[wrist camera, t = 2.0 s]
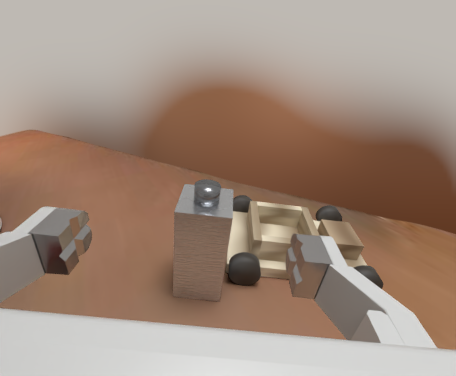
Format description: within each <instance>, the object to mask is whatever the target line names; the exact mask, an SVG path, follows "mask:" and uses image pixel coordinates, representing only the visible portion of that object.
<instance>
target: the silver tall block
mask: <svg viewBox="0 0 456 376" xmlns="http://www.w3.org/2000/svg"><path fill="white" fill-rule="evenodd" d="M232 220H233V190H232V189H223V188H221V185H220V184H219V183H218V182H216V181H213V180H200V181H197V182H196V183H195V185H189V184H185V185H184V187H183V190H182V193H181V195H180V198H179V201H178V204H177V206H176V209H175V212H174V260H173V297H180V298H190V299H200V300H209V301H219V302H220V296H221V290H222V283H223V277H224V271H225V264H226V258H227V252H228V245H229V239H230V233H231V227H232Z"/></svg>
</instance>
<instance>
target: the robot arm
mask: <svg viewBox="0 0 456 376" xmlns="http://www.w3.org/2000/svg"><path fill="white" fill-rule="evenodd" d="M88 221H89V217H88V213H87V212H85V211H80V210H72V209H65V208H56V207H47V206H46V207H42V208H40V209H39V210H38V211H37V212H36V213H34V214H33V215H32V216H31V217H29V218H28V219H27V220H26V221H24V222H23V223H22V224H21V225H20V226H18V227H17V228H16V229H15V230H13V231H12V232H5V233H2V234H0V303H1V302H2V301H4V300H5V299H7V298H8V297H10V296H12V295H13V294H15V293H16V292H18V291H19V290H21V289H23V288H24V287H26V286H27V285H29V284H30V283H32V282H34V281H35V280H37V279H38V278H40V277H41V276H43V275H45V273H50V274H64V275H69V274H70V273H71V271H72V270H73V269H74V267H75V266H76V264H77V263H78V262H79V260H78V256H80V255H82V254H84V253H85V252H86V251H87V249H88V248H89V246H90V243H91V240H92V232H91V229H90V228H89V227H88V226H87V225H86V224H87V222H88ZM1 226H2V220H1V218H0V229H1ZM290 242H291V246H292V247H290V248H289V249H288V250H287V254H286V261H285V264H286V271H287V274H288V275H289V276H290V281H289V284H290V288H291V292H292V297H300V298H308V299H315V300H314V301H315V302H316V303H317V304H318V305H319V307H320V308H321V309H322V310H323V311H324V313H325V314H326V315H327V316H328V317H329V319H330V320H331V321H332V322H333V323H334V325H335V326H336V327H337V328H338V329H339V331H340V332H341V333H342V334H343V335H344V337H345V338H346V339H347V340H340V339H329V338H319V337H308V336H297V335H286V334H275V333H265V332H254V331H243V330H232V329H221V328H210V327H200V326H189V325H178V324H167V323H156V322H145V321H134V320H124V319H113V318H102V317H91V316H80V315H69V314H58V313H48V312H37V311H26V310H15V309H4V308H0V376H456V350H449V349H438V348H437V347H436V346H435V344H434V343H433V341H432V340H431V338H430V337H429V335H428V334H427V332H426V331H425V329H424V328H423V326H422V325H421V323H420V322H419V320H418V319H417V317H416V316H415V314H414V313H412V312H411V311H410V310H409V309H407V308H406V307H405V306H403V305H402V304H401V303H399V302H398V301H397V300H395V299H394V298H393V297H391V296H390V295H389V294H387V293H386V292H385V291H383V290H382V289H381V288H379V287H378V286H377V285H375V284H374V283H373V282H371V281H370V280H369V279H367V278H366V277H365V276H363V275H362V274H361V273H359V272H358V271H357V270H355V269H354V268H353V267H349V266H348V265H347V264H346V262H345V260H344V258H343V256H342V254H341V252H340V250H339V248H338V247H337V245H336V243H335V241H334V239H333V238H332V237H331V236H319V235H318V236H315V235H305V234H295V233H293V235H292V237H291V240H290Z"/></svg>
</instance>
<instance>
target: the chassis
mask: <svg viewBox="0 0 456 376" xmlns="http://www.w3.org/2000/svg"><path fill="white" fill-rule="evenodd" d="M316 219H317V221H314V220H313V219H312V217H311V215H310V212H309V210H308V208H307V207H299V206H290V205H281V204H273V203H264V202H256V201H252V200H251V199H250V198H249V197H247V196H244V195H240V196H237V197H235V198H234V199H233V220H232V227H231V233H230V239H229V245H228V252H227V258H226V273H229V278H230V279H231V280H232V281H233V282H234V283H236V284H238V285H251V284H254V283H255V282H257V281H258V280H259V279H260V276H262V277H272V278H281V279H290V276H289V275H288V274H287V271H286V264H285V261H286V254H287V250H288V249H289V248H290V247H292V246H291V242H290V240H291V237H292V235H293V233H295V234H305V235H315V236H318V235H319V236H331V237H332V238H333V239H334V241H335V243H336V245H337V247H338V248H339V250H340V252H341V254H342V256H343V258H344V260H345V262H346V264H347V265H348V266H349V267H353V268H354V269H355V270H357V271H358V272H359V273H361V274H362V275H363V276H365V277H366V278H367V279H369V280H370V281H371V282H373V283H374V284H375V285H377V286H378V287H379V288H381V289H382V287H383V282H382V280H381V279H380V277H379V275H378V274H377V272H376V271H375V269H374V268H373V267H371V266H367V264H366V263H365V261H364V259H363V258H362V256H361V252H362V250H363V248H364V246H363V244H362V242H361V241H360V239H359V238H358V236H357V235H356V233H355V232H354V230H353V228H352V227H351V225H350V224H349V222H342V216H341V214H340V213H339V211H338V210H337V208H336V207H334V206H324V207H322V208H320V209H319V210H318V211H317V213H316Z"/></svg>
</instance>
